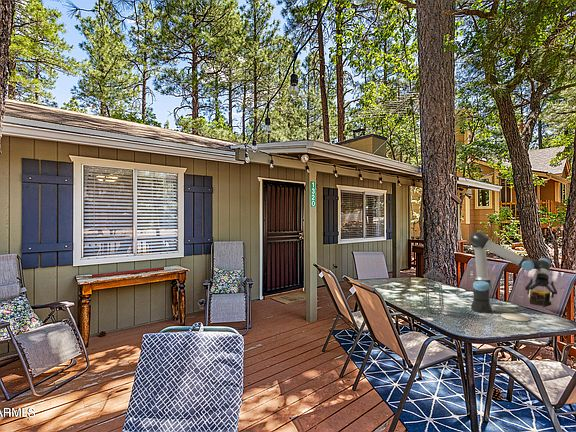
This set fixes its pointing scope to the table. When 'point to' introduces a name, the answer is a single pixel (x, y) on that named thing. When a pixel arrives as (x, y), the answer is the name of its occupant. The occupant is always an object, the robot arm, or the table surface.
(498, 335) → the table surface
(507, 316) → the saucer
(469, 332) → the table surface
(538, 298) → the mossy brown cube
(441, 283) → the geometric lantern
